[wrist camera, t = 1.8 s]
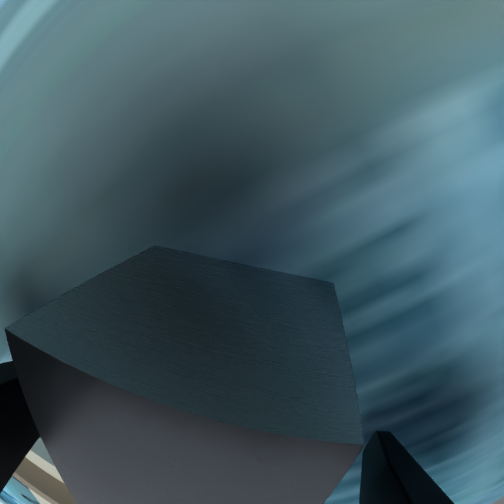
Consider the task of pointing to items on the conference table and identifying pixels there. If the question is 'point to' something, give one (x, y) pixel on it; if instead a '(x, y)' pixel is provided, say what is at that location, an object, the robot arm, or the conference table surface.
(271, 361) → the block
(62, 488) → the plate
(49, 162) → the conference table surface
